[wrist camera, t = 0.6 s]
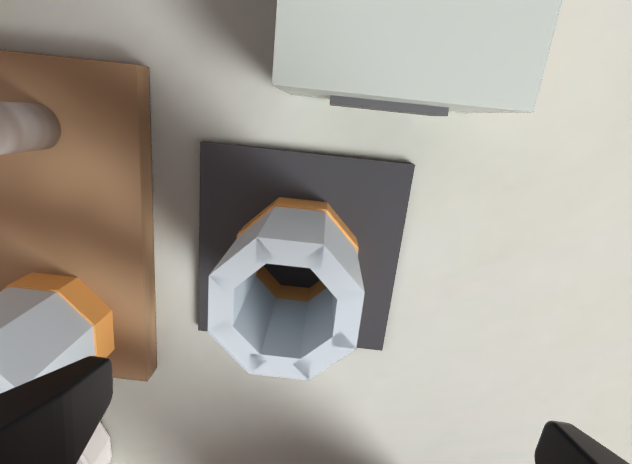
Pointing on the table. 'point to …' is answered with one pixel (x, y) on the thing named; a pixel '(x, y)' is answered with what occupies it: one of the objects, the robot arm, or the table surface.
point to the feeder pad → (316, 185)
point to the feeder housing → (415, 53)
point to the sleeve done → (49, 326)
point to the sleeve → (288, 292)
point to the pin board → (82, 188)
